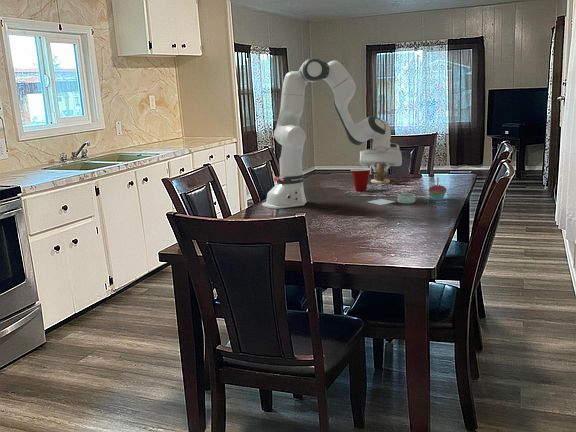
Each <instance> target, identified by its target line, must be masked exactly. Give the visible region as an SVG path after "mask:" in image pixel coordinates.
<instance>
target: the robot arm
mask: <svg viewBox="0 0 576 432" xmlns="http://www.w3.org/2000/svg"><path fill="white" fill-rule="evenodd" d="M321 80H323V81H325V83H327V84H328V87H329V88H330V89H331V92H332V93H333V96H334V100H333V105H334V108H335V110H336V112H337V115H338V117H339V120H340V122H341V123H342V126H343V128H344V130H345V134H346V138H347V140H348V141H349V142H350V144H352V145H354V146H361V145H362V144H364V143H365V142H367V141H369V140H370V139H372V146H371V148H363V149H360V150H359V165H360V166H361V167H371V169H372V170H373V173H376V174H377V163H384V174H387V173H388V170H389V169H390V168H391V167H401V166H402V164H403V157H402V156H403V155H402V151H401V149H400V145H399V144H397V143H394V142H391V137H392V136H391V135H392V133H391V131H392V130H391V126H390V123H389V122H388V120H385V119H381V118H379V117H377V116H375V115H370V116H367V117H366V118H364V119H362V120H361V121H359V122H358V123H354V121H353V119H352V116H351V114H350V112H349V110H348V109H349V103H350V101H352V99H353V97H354V95H355V94H356V89H357V85H356V83H355V80H354V78H353V77H352V76H351V74H350V73H349V71H348V70H347V68H346V67H344V65H343V64H342V63H341V62H340V61H338V60H330V61H329V62H326V61H323V60H322V59H320V58H316V57H311V58H307V59H305V61H303V63H302V64H301V66H300V67H299V69H298V70H297V71H296V70H295V71H293V70H291V71H289V72H287V73H286V74H285V75H284V79H283V82H282V88H281V95H280V96H281V97H280V107H279V114H278V118H277V122H276V127H275V129H274V131H273V136H274V137H273V138H274V139H275V141H276V142H277V143H278V144H279V145H281V150H280V152H281V153H280V157H279V162H278V163H279V176H273V181H276V182H277V183H276V184H275V185H274V186H273V187H272V188H271V189H270V190H269V191H268V192H267V194H266V200H265V202H262V203H261V205H262V206H263V207H264V208H268V209H275V210H278V209H285V208H293V207H294V208H295V207H301V206H305V204H306V203H307V202H308V201H307V199H306V194H305V191H304V190H305V189H304V174H303V152H304V146H305V142H306V139H307V134H306V132H305V130H304V129H303V128H302V127H301V126H300V125H299V123H300V121H301V116H302V115H303V114H304V105H305V103H304V102H305V91H306V88H307V87H306V86H307V85H308V84H309V83H310V84H311V83H317V82H318V81H321Z"/></svg>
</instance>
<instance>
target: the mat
mask: <svg viewBox="0 0 576 432" xmlns="http://www.w3.org/2000/svg"><path fill="white" fill-rule="evenodd" d="M367 203H370V204H375V205H379V206H383V205H387V204H392V203H396V201H394V200H389V199H384V198H378V199H374V200H369V201H367Z"/></svg>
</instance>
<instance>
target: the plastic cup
mask: <svg viewBox="0 0 576 432" xmlns="http://www.w3.org/2000/svg"><path fill="white" fill-rule="evenodd" d="M371 169H372V168H351V169H350V172H351V175H352V180H353V185H354V189H355V191H356V192H366V191H367V188H368V184H369V177H370V176H369V175H370V171H371Z"/></svg>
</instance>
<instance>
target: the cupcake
mask: <svg viewBox="0 0 576 432" xmlns="http://www.w3.org/2000/svg"><path fill="white" fill-rule="evenodd" d="M436 180H437V181H436V184H435V185H432V186H430V187H428V193H430V195H431V199H432V200H433V201H444V197H445V194H446V193H447V192H448V191H447V190H448V189H447V188H446V187H445V186H443V185H441V184H439V183H440V182H439V176H437V177H436Z"/></svg>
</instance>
